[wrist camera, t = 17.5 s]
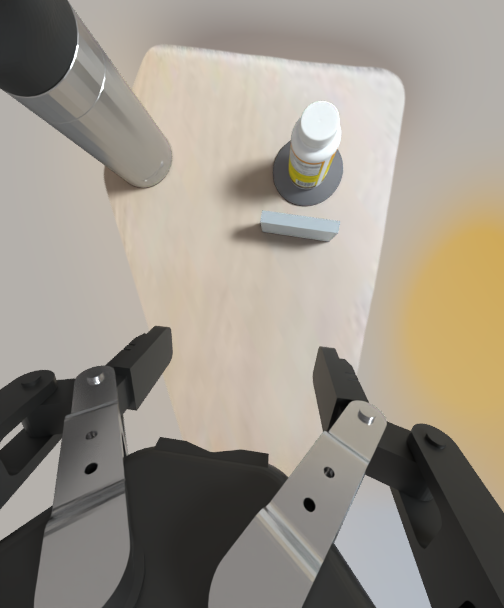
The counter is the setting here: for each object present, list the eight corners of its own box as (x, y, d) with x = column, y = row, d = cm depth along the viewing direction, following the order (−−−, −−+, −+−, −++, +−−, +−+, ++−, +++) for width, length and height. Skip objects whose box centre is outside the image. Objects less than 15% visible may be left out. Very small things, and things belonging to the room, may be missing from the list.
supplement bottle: (316, 144, 33) (333, 80, 23) (333, 179, 33) (358, 130, 23) (281, 164, 34) (283, 110, 24) (298, 198, 34) (307, 158, 24)
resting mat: (259, 167, 35) (259, 166, 34) (314, 121, 34) (314, 119, 33) (300, 219, 35) (300, 219, 34) (356, 175, 33) (357, 174, 33)
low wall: (262, 231, 35) (260, 221, 30) (264, 221, 35) (262, 210, 30) (329, 241, 34) (338, 233, 29) (331, 231, 34) (340, 221, 29)
